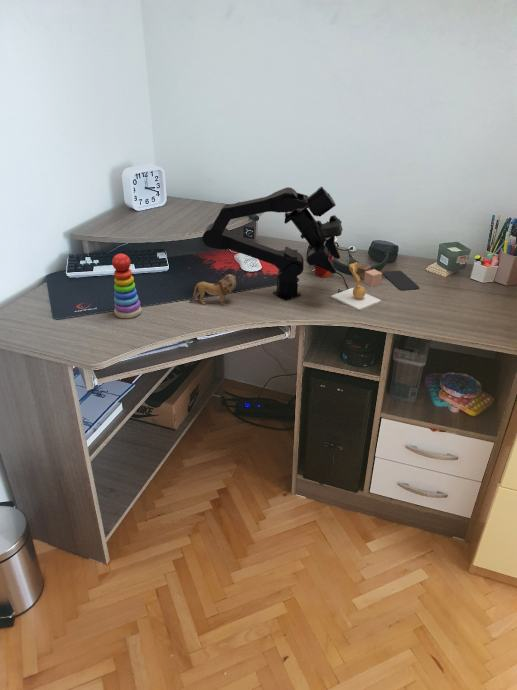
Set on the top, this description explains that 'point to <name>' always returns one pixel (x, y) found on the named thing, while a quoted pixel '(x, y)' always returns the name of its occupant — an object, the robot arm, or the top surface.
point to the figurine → (358, 290)
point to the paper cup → (322, 272)
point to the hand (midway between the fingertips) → (337, 265)
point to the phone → (400, 280)
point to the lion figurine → (215, 288)
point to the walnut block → (362, 270)
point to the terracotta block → (373, 277)
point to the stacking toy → (125, 288)
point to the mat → (355, 300)
